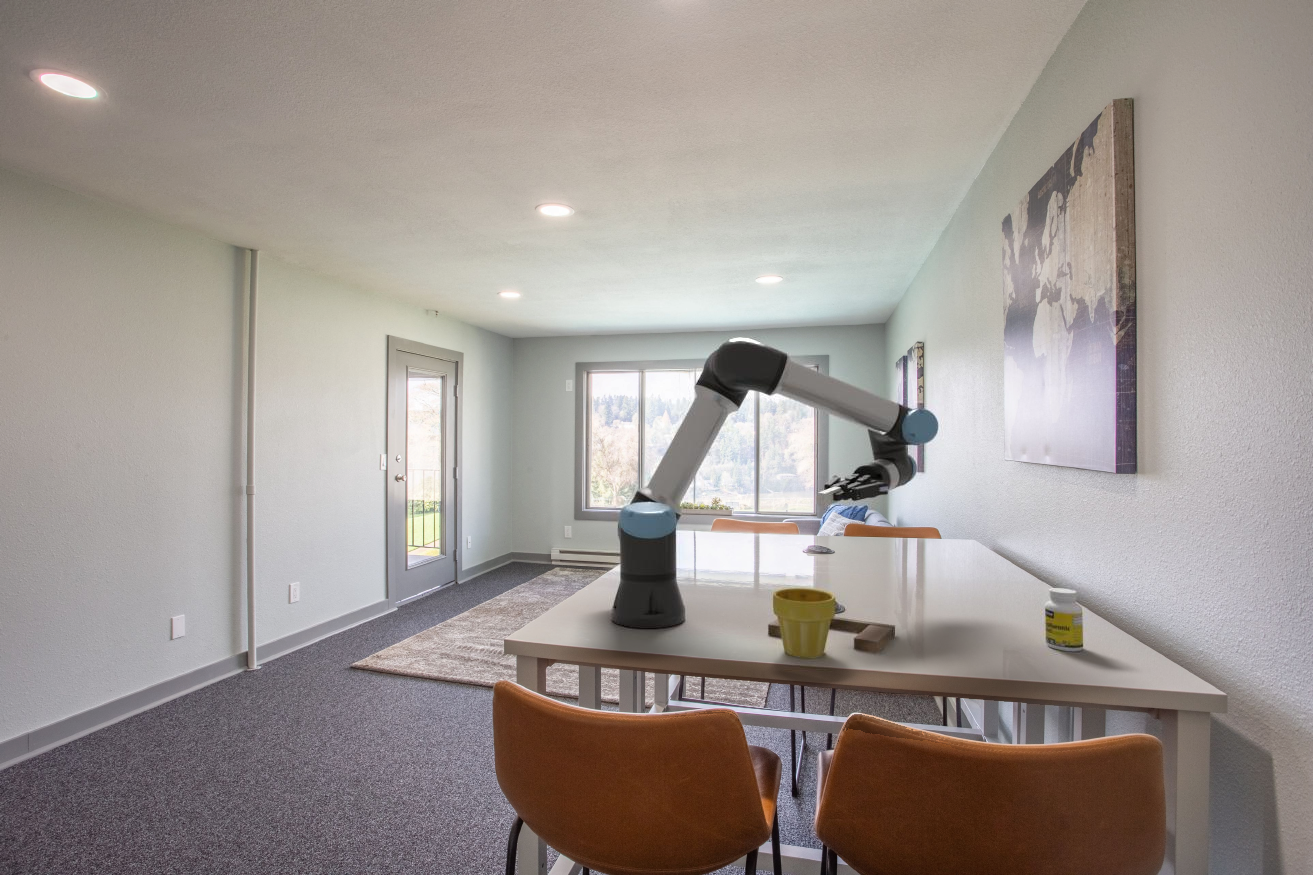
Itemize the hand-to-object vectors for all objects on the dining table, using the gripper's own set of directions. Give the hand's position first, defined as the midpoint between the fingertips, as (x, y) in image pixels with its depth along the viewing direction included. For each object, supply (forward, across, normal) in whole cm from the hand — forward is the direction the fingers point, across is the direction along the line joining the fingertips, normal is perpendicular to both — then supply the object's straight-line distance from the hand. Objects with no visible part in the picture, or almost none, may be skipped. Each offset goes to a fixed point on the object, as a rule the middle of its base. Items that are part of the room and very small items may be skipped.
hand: (821, 499), depth 122 cm
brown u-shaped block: (+10, -7, -23) cm, 26 cm away
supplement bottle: (-12, -40, -23) cm, 48 cm away
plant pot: (+21, -9, -21) cm, 31 cm away
